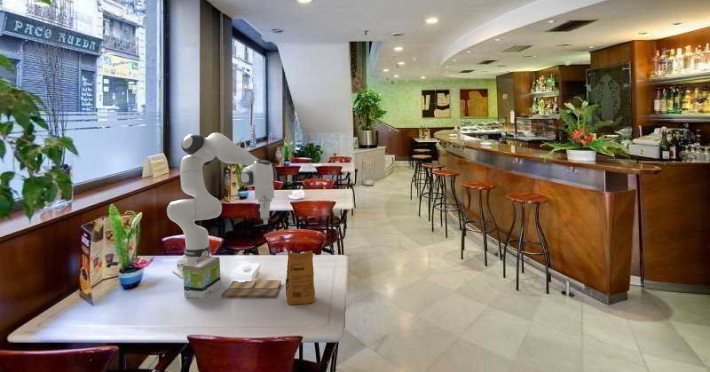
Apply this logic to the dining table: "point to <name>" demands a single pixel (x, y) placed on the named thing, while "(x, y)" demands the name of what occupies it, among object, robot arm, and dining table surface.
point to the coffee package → (300, 278)
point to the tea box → (201, 276)
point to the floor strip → (249, 293)
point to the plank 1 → (242, 285)
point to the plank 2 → (267, 284)
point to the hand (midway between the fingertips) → (265, 223)
